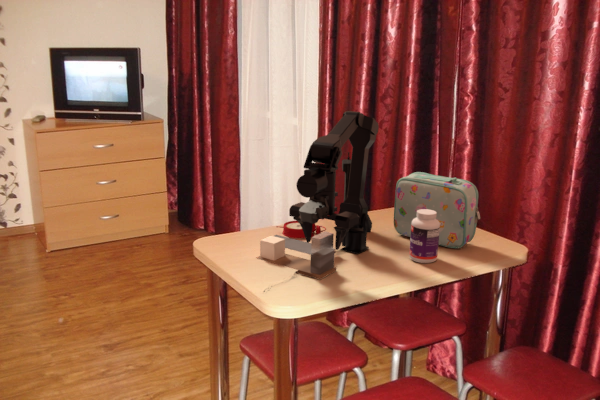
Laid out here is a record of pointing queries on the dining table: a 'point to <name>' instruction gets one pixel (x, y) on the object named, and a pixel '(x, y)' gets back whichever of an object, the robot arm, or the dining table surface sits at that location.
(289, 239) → the grey piece
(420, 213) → the pill bottle
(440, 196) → the lunch box
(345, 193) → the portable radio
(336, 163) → the robot arm
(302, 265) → the walnut strip
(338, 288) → the dining table surface
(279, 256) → the cream block
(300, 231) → the alarm clock
